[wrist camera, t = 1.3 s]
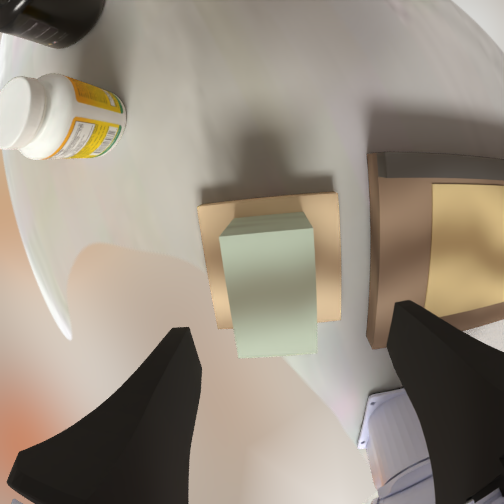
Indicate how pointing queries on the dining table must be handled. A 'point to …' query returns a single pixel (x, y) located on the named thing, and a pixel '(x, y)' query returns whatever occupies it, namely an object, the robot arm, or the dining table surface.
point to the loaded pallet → (322, 246)
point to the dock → (435, 238)
